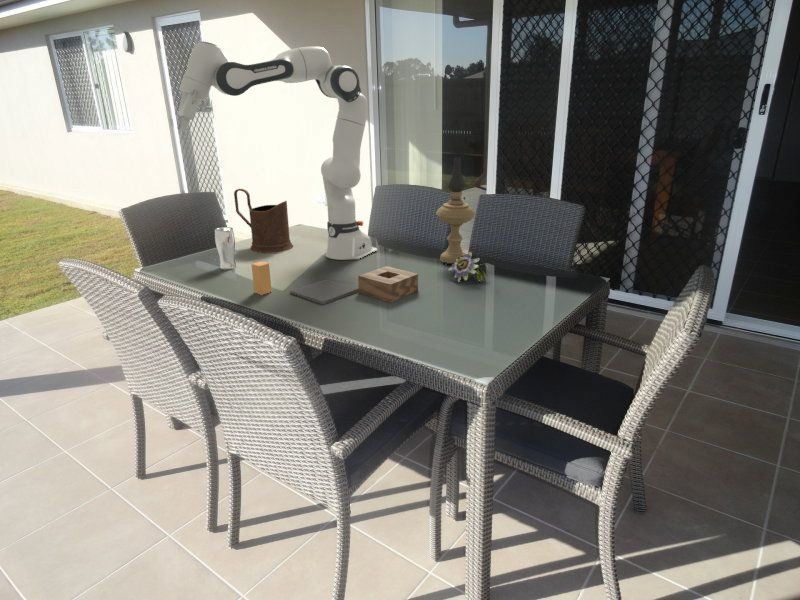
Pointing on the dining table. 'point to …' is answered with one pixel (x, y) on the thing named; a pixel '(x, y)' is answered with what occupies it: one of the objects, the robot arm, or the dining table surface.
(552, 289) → the dining table surface
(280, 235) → the rusty metal jug
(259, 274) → the pin
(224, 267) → the beer glass
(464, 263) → the passion flower
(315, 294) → the mat
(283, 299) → the dining table surface
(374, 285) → the socket block
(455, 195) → the oil lamp
